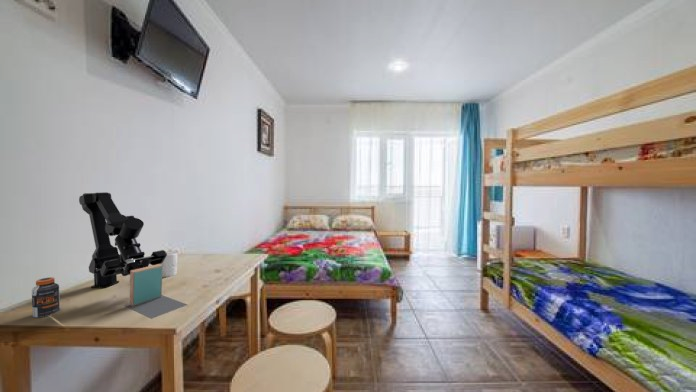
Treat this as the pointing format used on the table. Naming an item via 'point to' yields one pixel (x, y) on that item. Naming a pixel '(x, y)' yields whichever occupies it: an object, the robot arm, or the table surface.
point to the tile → (145, 284)
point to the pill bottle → (45, 297)
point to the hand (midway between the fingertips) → (144, 281)
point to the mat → (157, 306)
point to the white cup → (170, 264)
